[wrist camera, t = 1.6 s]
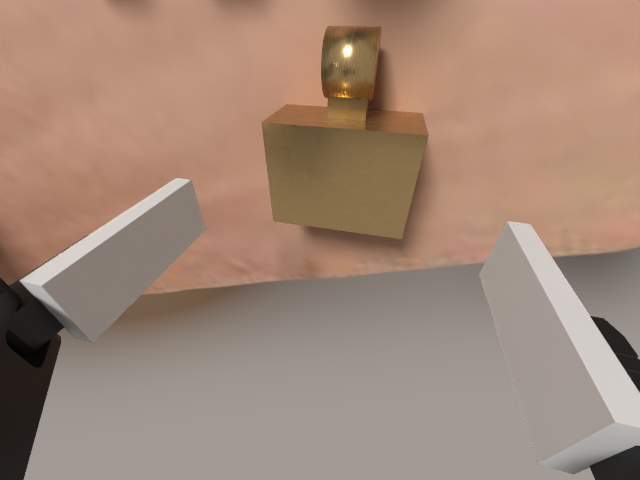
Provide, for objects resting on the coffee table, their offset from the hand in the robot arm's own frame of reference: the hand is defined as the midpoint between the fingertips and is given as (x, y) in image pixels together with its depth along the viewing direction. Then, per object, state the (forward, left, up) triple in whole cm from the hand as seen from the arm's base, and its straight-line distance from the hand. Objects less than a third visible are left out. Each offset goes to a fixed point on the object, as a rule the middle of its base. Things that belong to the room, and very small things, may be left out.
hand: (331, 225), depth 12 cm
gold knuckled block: (0, +2, -8) cm, 8 cm away
